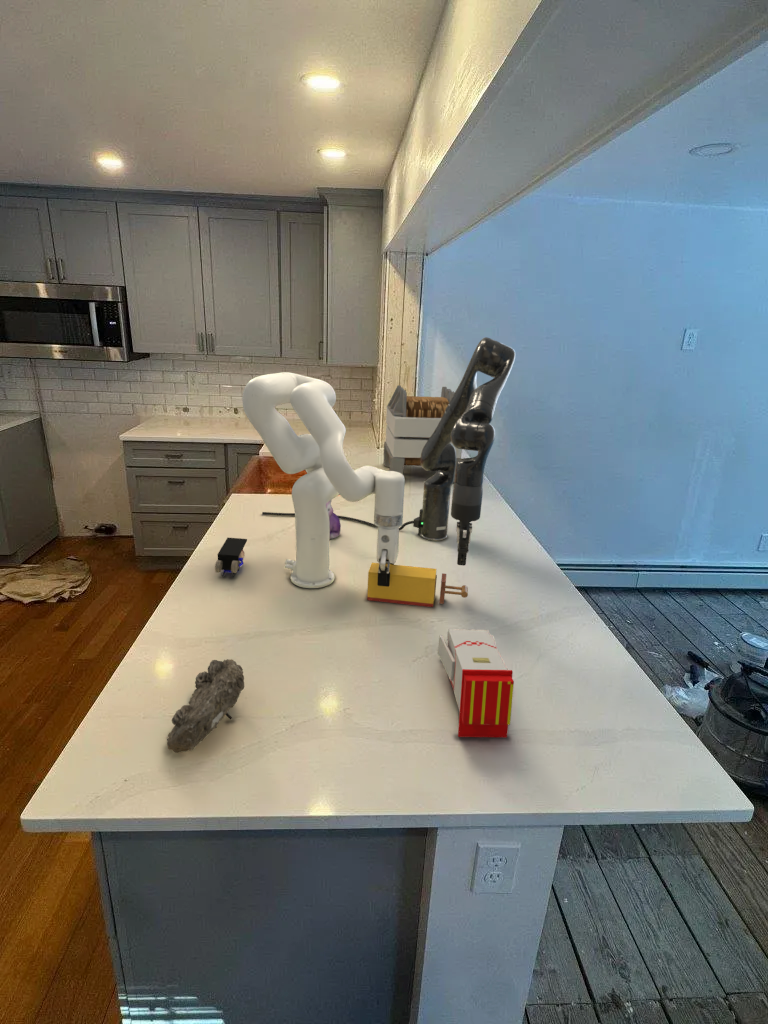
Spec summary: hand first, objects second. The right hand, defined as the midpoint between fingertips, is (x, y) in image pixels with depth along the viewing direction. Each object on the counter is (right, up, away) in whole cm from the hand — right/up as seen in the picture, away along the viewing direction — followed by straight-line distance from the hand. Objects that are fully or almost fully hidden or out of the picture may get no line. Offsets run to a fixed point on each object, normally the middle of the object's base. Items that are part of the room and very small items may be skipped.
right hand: (461, 558), depth 149 cm
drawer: (-9, -11, +5) cm, 15 cm away
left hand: (-20, -6, +5) cm, 21 cm away
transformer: (-3, +31, +126) cm, 129 cm away
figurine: (-40, +4, +46) cm, 61 cm away
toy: (-3, -26, -31) cm, 40 cm away
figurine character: (-65, -5, +18) cm, 68 cm away
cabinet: (-16, -12, +6) cm, 20 cm away
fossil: (-53, -27, -41) cm, 72 cm away
